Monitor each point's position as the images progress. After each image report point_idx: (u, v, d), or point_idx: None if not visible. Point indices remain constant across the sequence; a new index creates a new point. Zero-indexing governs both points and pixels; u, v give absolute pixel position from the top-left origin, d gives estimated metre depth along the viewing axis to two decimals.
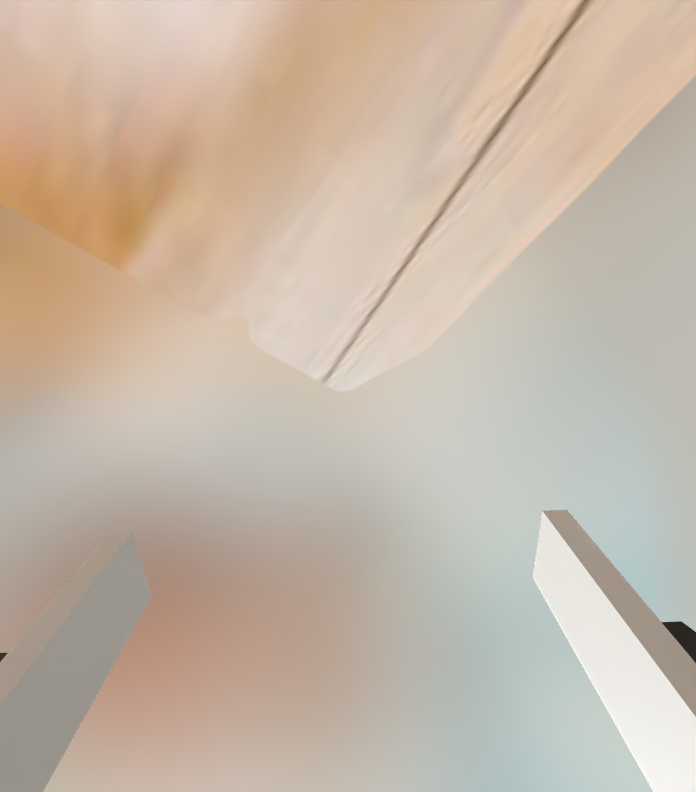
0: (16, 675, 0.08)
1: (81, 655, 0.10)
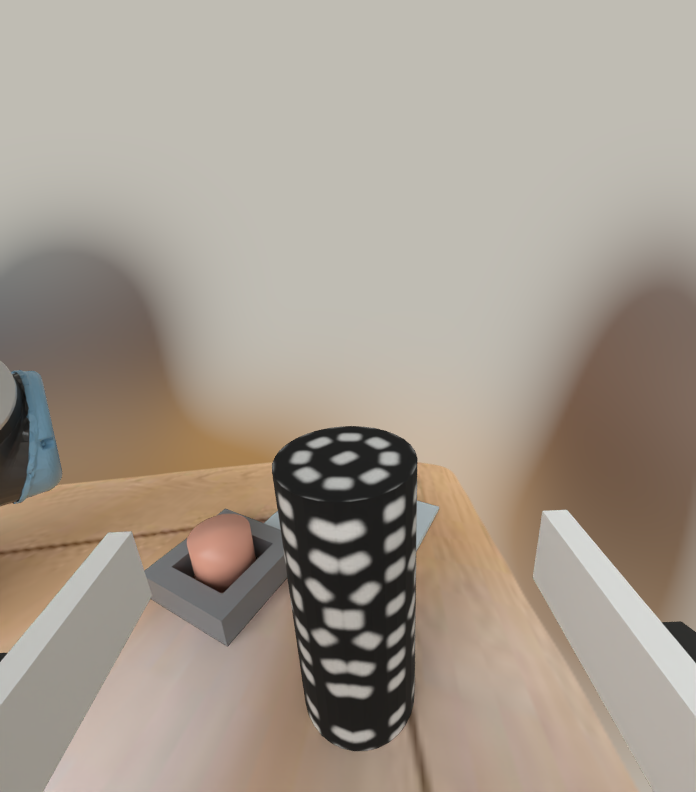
0: (16, 675, 0.08)
1: (81, 655, 0.10)
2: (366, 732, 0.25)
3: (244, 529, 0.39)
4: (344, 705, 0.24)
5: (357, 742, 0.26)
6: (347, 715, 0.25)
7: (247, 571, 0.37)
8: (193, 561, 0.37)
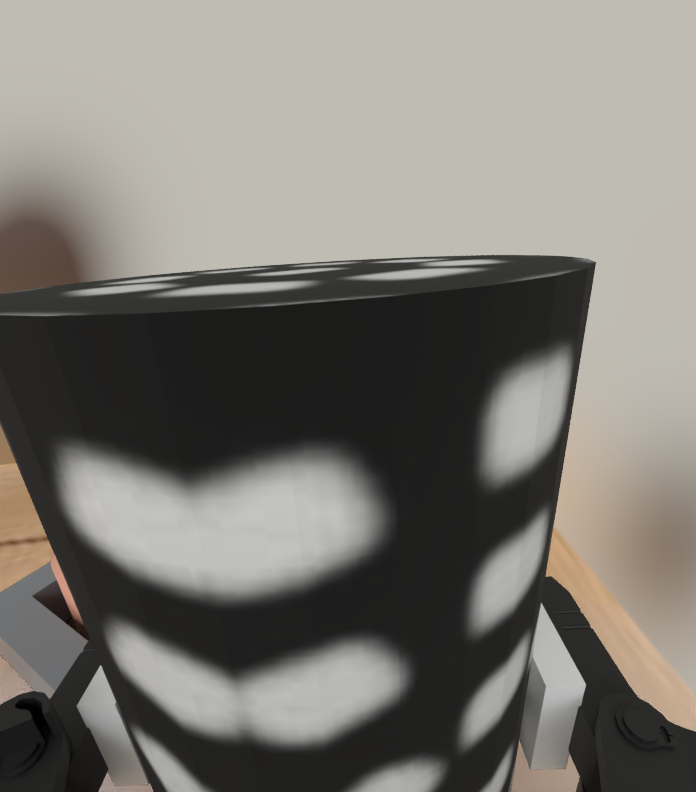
0: None
1: None
2: None
3: None
4: None
5: None
6: None
7: None
8: (60, 588, 0.20)
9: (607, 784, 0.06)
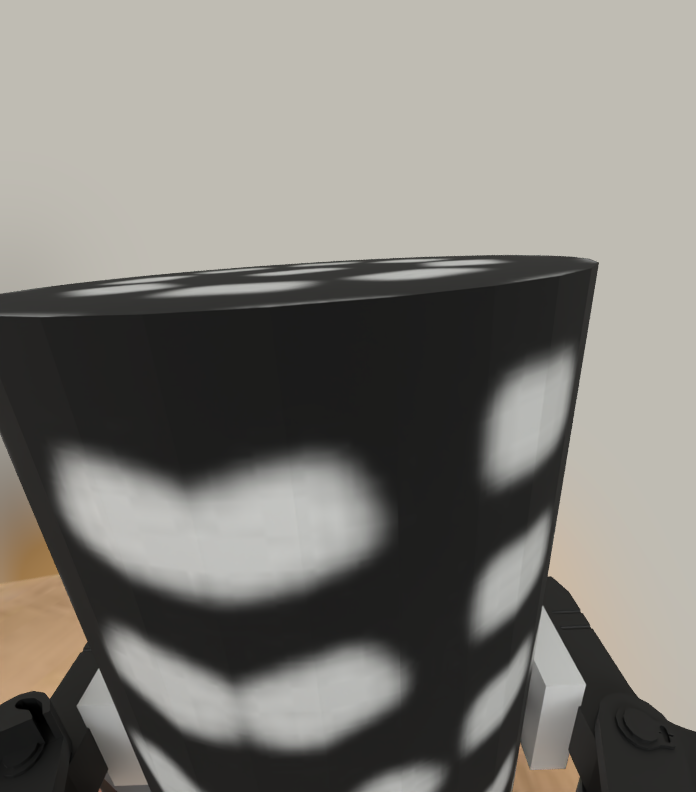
0: None
1: None
2: None
3: None
4: None
5: None
6: None
7: None
8: None
9: (607, 784, 0.06)
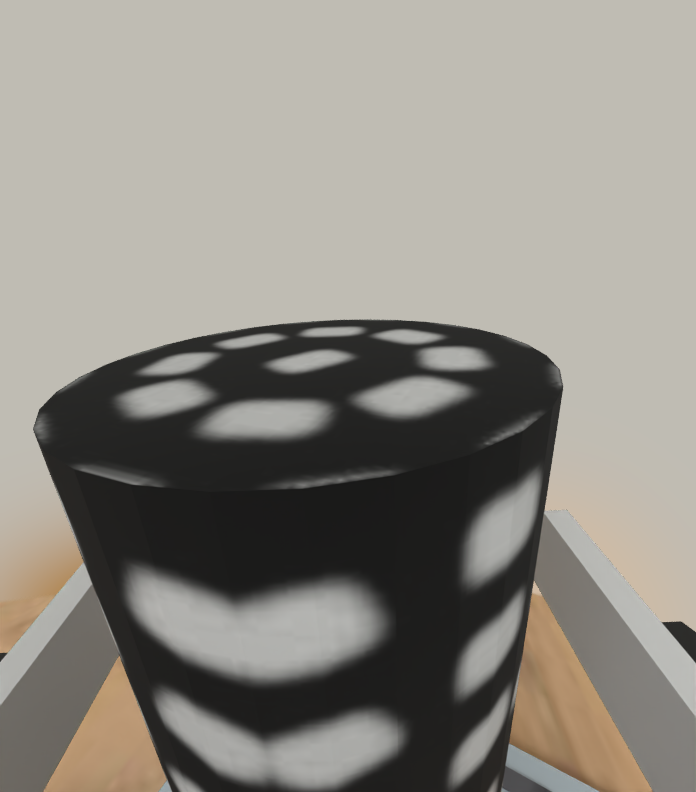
0: (16, 675, 0.08)
1: (81, 655, 0.10)
2: None
3: None
4: None
5: None
6: None
7: None
8: None
9: None
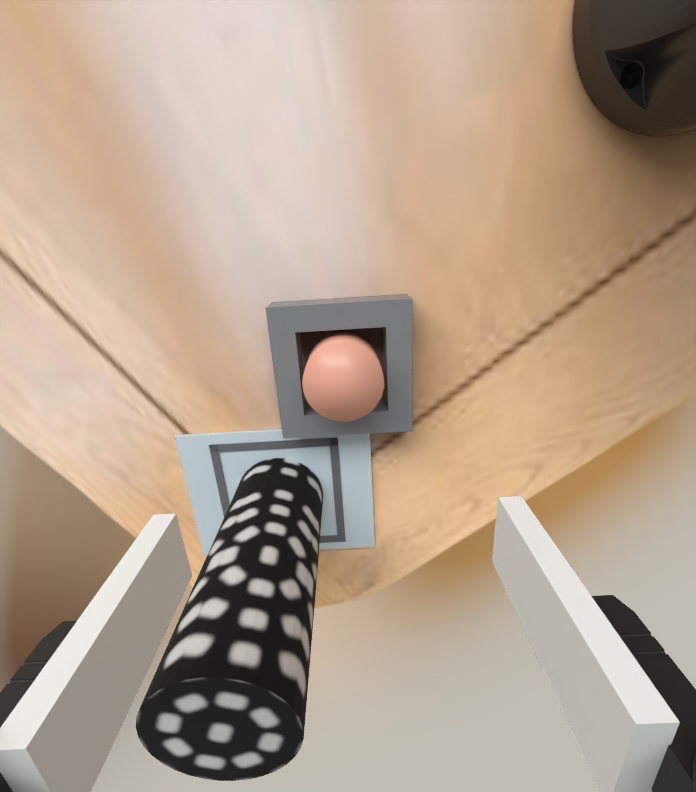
0: (90, 637, 0.09)
1: (139, 624, 0.11)
2: (246, 478, 0.35)
3: (319, 405, 0.29)
4: (251, 489, 0.32)
5: (254, 468, 0.36)
6: (252, 483, 0.33)
7: (296, 369, 0.31)
8: (348, 340, 0.29)
9: None
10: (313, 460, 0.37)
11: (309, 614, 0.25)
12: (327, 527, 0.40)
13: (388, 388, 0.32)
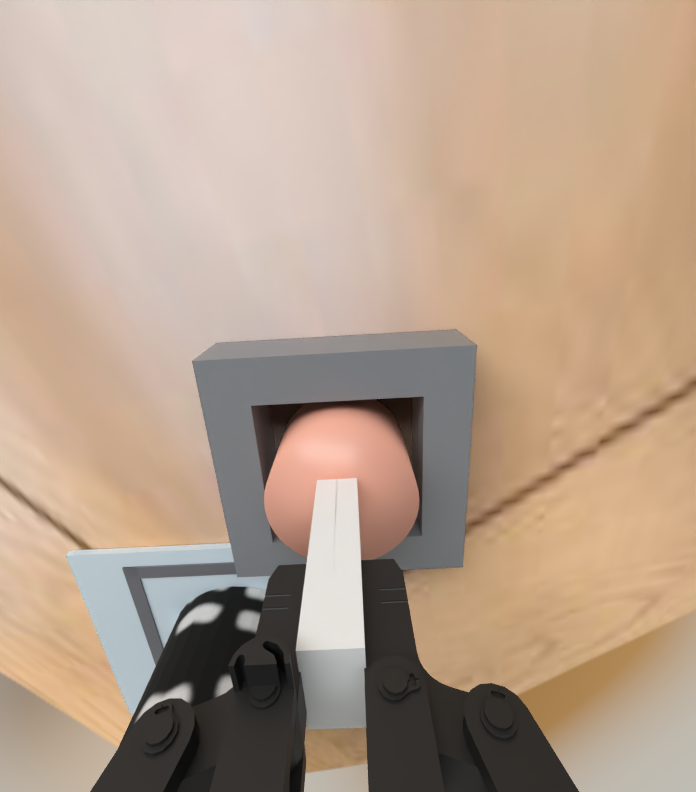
0: (327, 572, 0.10)
1: None
2: (181, 628, 0.21)
3: (297, 539, 0.16)
4: (180, 671, 0.18)
5: (195, 608, 0.22)
6: (185, 651, 0.19)
7: (255, 469, 0.17)
8: (351, 421, 0.15)
9: (367, 750, 0.07)
10: None
11: None
12: None
13: (423, 500, 0.17)
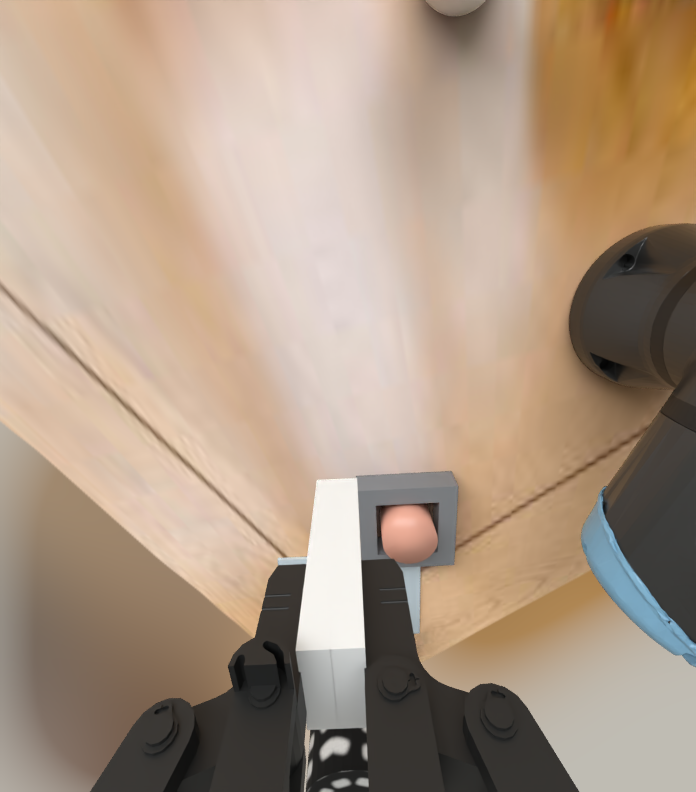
0: (327, 572, 0.10)
1: None
2: None
3: (393, 554, 0.43)
4: None
5: None
6: None
7: (374, 527, 0.44)
8: (413, 512, 0.42)
9: (367, 750, 0.07)
10: None
11: None
12: None
13: (438, 538, 0.45)
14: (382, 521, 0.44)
